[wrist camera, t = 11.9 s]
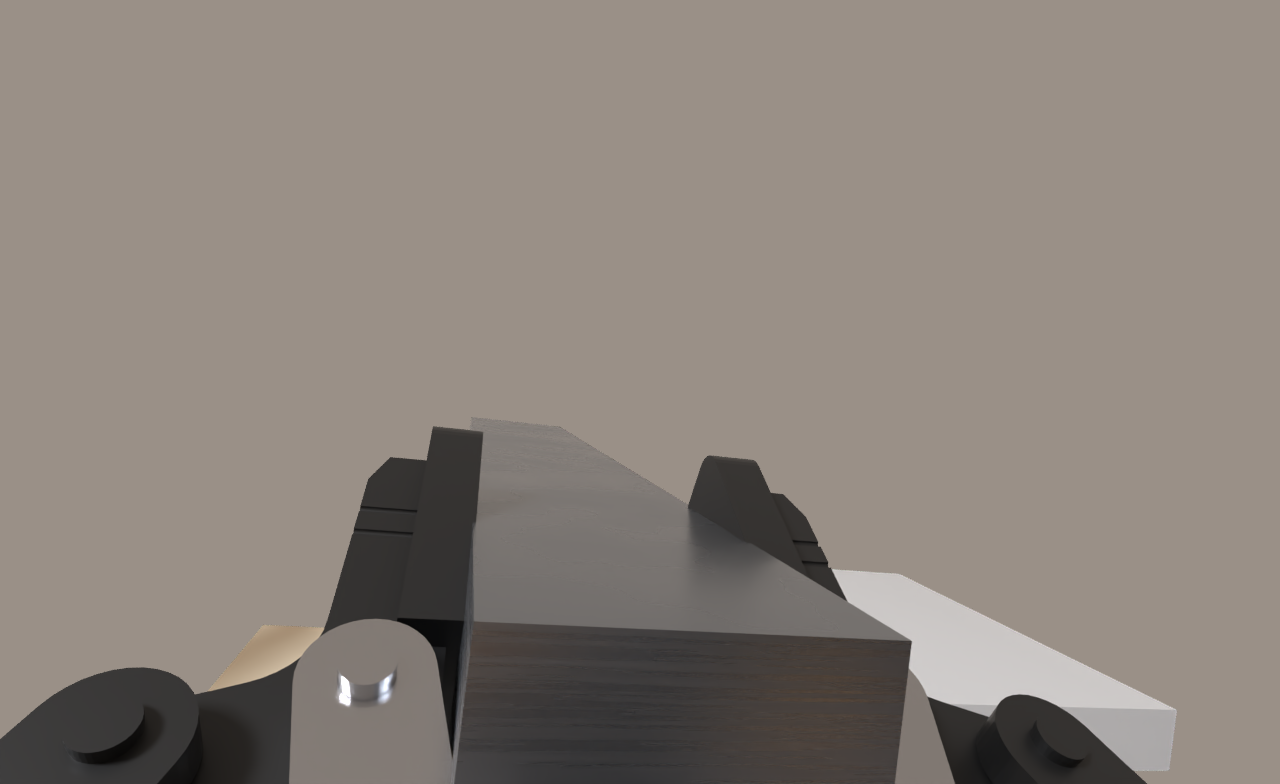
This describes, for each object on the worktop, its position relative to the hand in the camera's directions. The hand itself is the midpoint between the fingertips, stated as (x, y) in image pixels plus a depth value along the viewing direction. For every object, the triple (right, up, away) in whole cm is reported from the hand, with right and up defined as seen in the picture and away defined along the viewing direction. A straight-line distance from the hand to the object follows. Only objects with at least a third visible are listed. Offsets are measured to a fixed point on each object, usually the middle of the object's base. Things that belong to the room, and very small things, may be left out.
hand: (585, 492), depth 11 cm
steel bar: (-2, -2, +6) cm, 7 cm away
